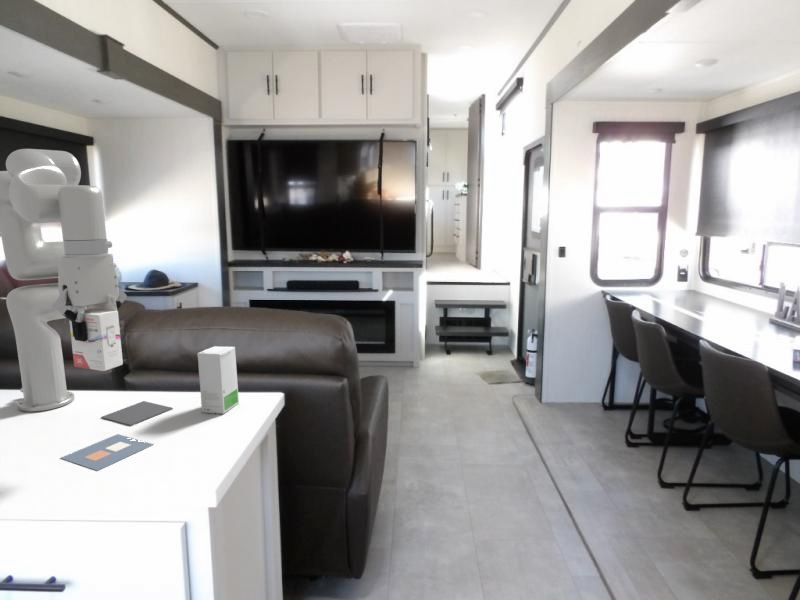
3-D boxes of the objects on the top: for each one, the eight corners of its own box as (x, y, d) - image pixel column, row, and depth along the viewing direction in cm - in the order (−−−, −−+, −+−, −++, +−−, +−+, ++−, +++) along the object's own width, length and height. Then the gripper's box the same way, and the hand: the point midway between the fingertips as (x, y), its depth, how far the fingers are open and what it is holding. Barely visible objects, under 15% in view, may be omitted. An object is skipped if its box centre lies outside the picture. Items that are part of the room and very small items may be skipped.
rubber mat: (101, 418, 131) (101, 416, 131) (143, 402, 142) (143, 401, 142) (131, 426, 126) (130, 424, 126) (172, 408, 137) (172, 407, 137)
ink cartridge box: (72, 367, 109) (64, 297, 107) (93, 360, 114) (86, 293, 111) (104, 371, 106) (96, 299, 104) (124, 364, 111) (117, 295, 108)
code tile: (60, 458, 110) (60, 457, 110) (117, 434, 122) (117, 433, 122) (97, 470, 105) (97, 470, 105) (153, 444, 116) (153, 444, 116)
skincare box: (223, 415, 133) (219, 354, 130) (199, 413, 134) (195, 353, 131) (240, 402, 141) (236, 346, 138) (217, 401, 142) (213, 344, 139)
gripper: (113, 245, 115) (121, 326, 118) (29, 251, 100) (41, 344, 103) (136, 246, 112) (144, 330, 115) (53, 253, 97) (64, 349, 100)
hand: (95, 336), depth 109 cm, fingers closed on ink cartridge box, 5 cm apart
